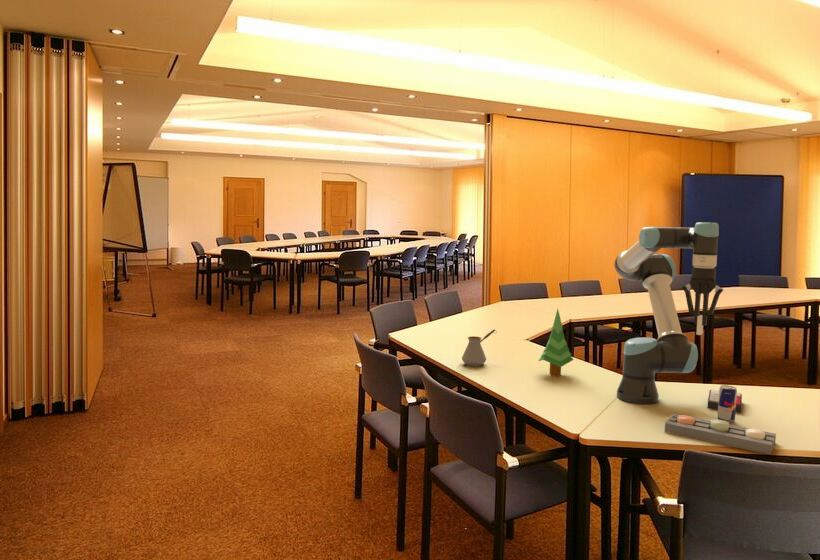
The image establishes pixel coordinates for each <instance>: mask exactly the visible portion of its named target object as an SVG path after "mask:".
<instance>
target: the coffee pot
mask: <svg viewBox="0 0 820 560" xmlns="http://www.w3.org/2000/svg"><path fill="white" fill-rule="evenodd" d="M497 332H498V331H497V330H496V329H492V330H491V331H490V332H489V333H487V334H486V335H485V336H484V337H483V338H482V337H480V336H468V337H467V339H468V343H467V346H466V348H465V350H464V352H463V354H462V357H461V360H462V362H463V363H465V365H466V366H468V367H482V366H483V364H485V363H486V361H487V356H486V355H485V352H484V349H483V347H482V344H481V343H482V342H483V341H484V340H486V339H488V337H490V336H491V335H492V334H494V333H495V334H497ZM481 365H482V366H481Z"/></svg>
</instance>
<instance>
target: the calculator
mask: <svg viewBox="0 0 820 560" xmlns="http://www.w3.org/2000/svg"><path fill="white" fill-rule="evenodd" d="M707 399H708V400H707V409H711V410H717V411H718V402H719V389H710V390H709V391H708V398H707ZM742 400H743V394H742V393H741V392H740V393H739V392H737V397H736V411H735V413H736V412H737V413H736V414H742V408H743V406H742V405H743V404H742V403H743V402H742Z"/></svg>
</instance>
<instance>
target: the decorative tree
mask: <svg viewBox="0 0 820 560" xmlns="http://www.w3.org/2000/svg"><path fill="white" fill-rule="evenodd" d="M563 329H564V327H563V324H562V320H561V315H560V312H559V308H557V310H556V312H555V317H554V319H553V324H552V328H551V331H550V334H549V335H550V336H549V338H548V341H547V344H546V345H545V348H544V349H543V351H542V353H541V355H540V357H539V359H538V361H539V362H541V361H545V362H548V363H549V375H550V376H551V377H560V376H562V367H564V366H566V365H567V364H569V363H570V362H572V361H574V358H573V357H572V353H571V352H570V348H569V347H568V343H567V340H566V339H565V334H564V331H563Z"/></svg>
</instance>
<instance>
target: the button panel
mask: <svg viewBox="0 0 820 560" xmlns="http://www.w3.org/2000/svg"><path fill="white" fill-rule="evenodd" d="M679 415H680V414H677V413H673V415H672V416H671V417H669V418H668V420H666V421H665V422H664V433H668V434H671V435H672V434H673V435H678V436H682V437H686V438H692V439H695V440H700V441H705V442H710V443H714V444H719V445H724V446H729V447H733V448H738V449H742V450H746V451H751V452H752V451H753V452H756V453H760V454H766V455H772V453H773V450H774V446H775V444H776V439H777V433H774V432H769V431H764V430H763V431H764V432H765V440H760V439H755V438H750V437H745V434H746V429H751V428H749V427H743V426H738V425H733V424H729V430H728V433H726V432H721V431H716V430H711V429H710V424H711V420H708V419H704V418H697V417H693V416H692V417H693V418H695V423H694V426H692V425H687V424H682V423H677V416H679Z"/></svg>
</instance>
